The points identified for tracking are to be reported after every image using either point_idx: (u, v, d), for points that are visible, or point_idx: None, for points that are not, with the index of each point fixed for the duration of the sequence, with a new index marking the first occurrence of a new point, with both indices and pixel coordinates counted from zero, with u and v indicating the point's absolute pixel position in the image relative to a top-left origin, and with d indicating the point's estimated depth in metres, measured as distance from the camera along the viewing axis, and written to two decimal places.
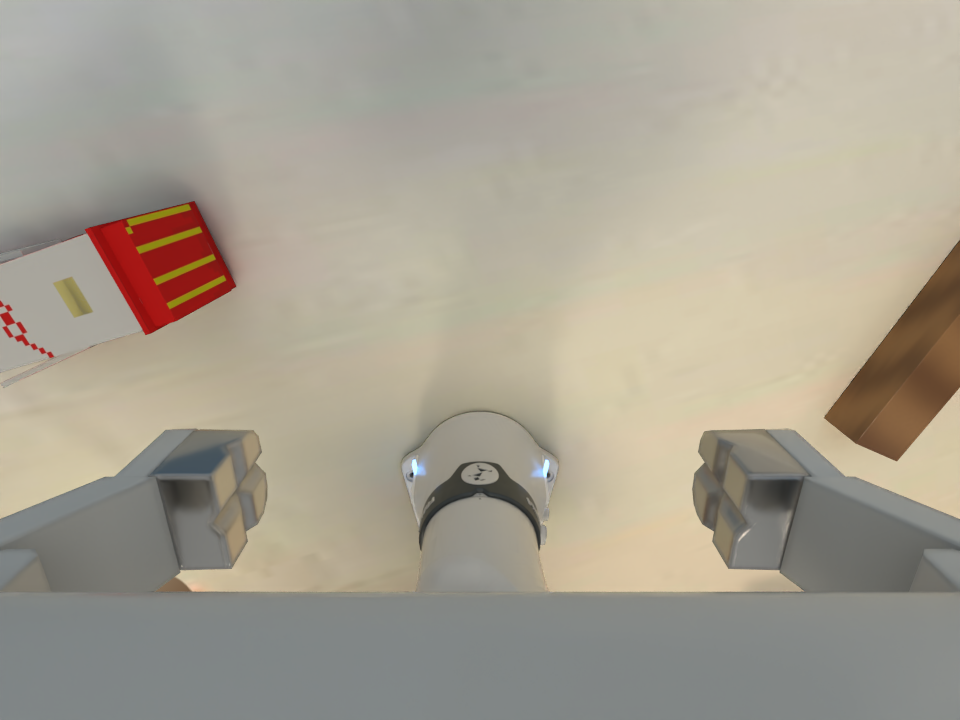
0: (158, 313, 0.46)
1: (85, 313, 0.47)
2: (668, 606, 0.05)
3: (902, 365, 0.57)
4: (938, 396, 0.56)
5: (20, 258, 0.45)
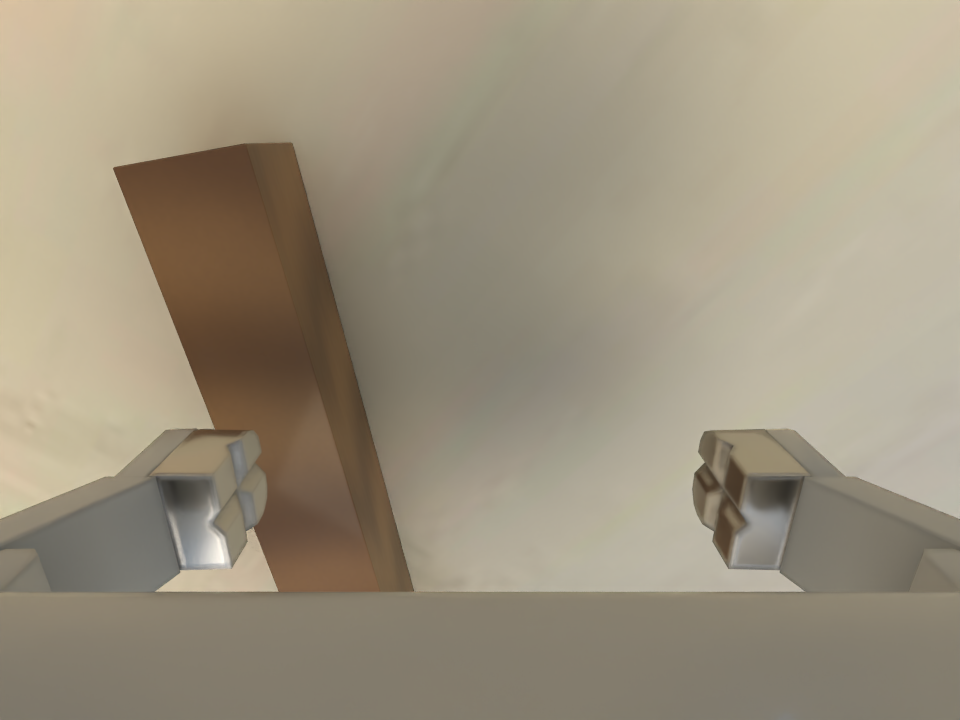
0: None
1: None
2: (668, 606, 0.05)
3: (318, 344, 0.26)
4: (212, 345, 0.25)
5: None
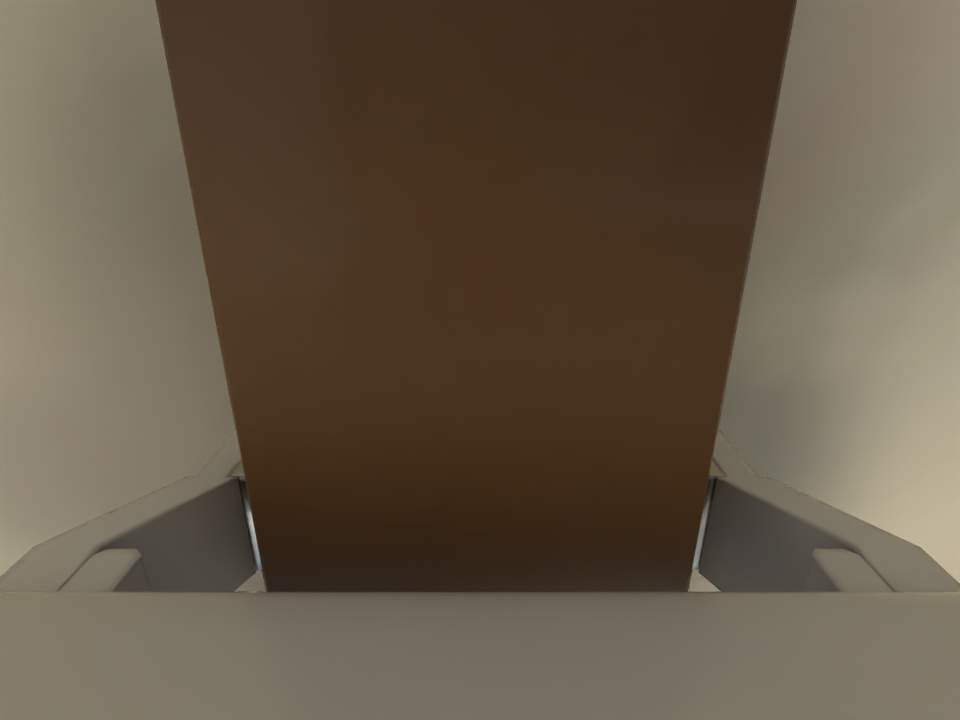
0: None
1: None
2: (668, 606, 0.05)
3: None
4: None
5: None
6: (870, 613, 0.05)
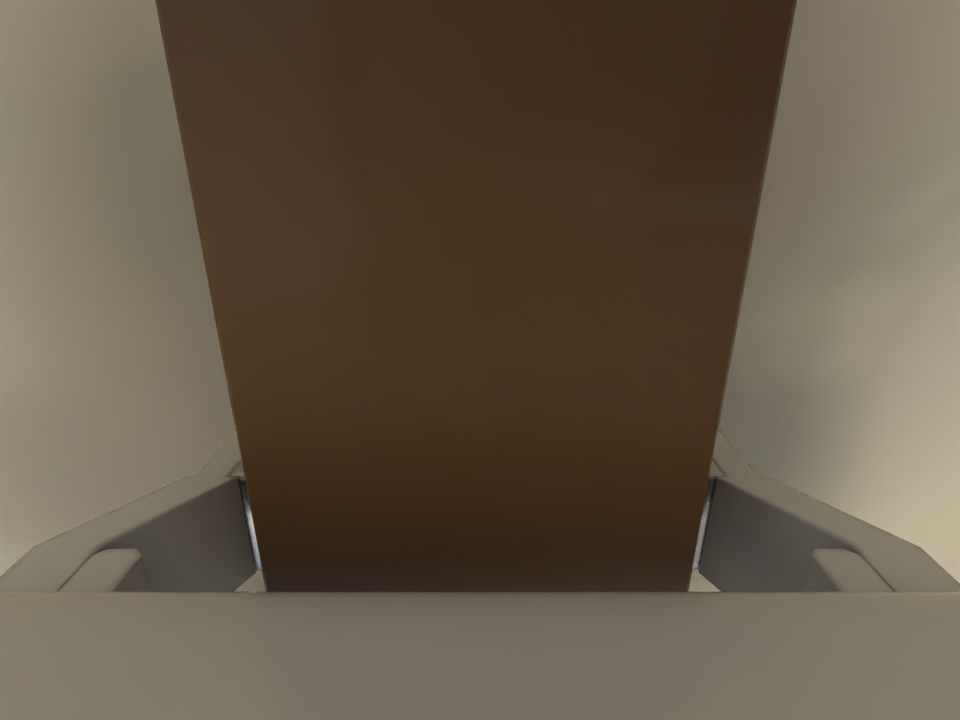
0: None
1: None
2: (668, 606, 0.05)
3: None
4: None
5: None
6: (870, 613, 0.05)
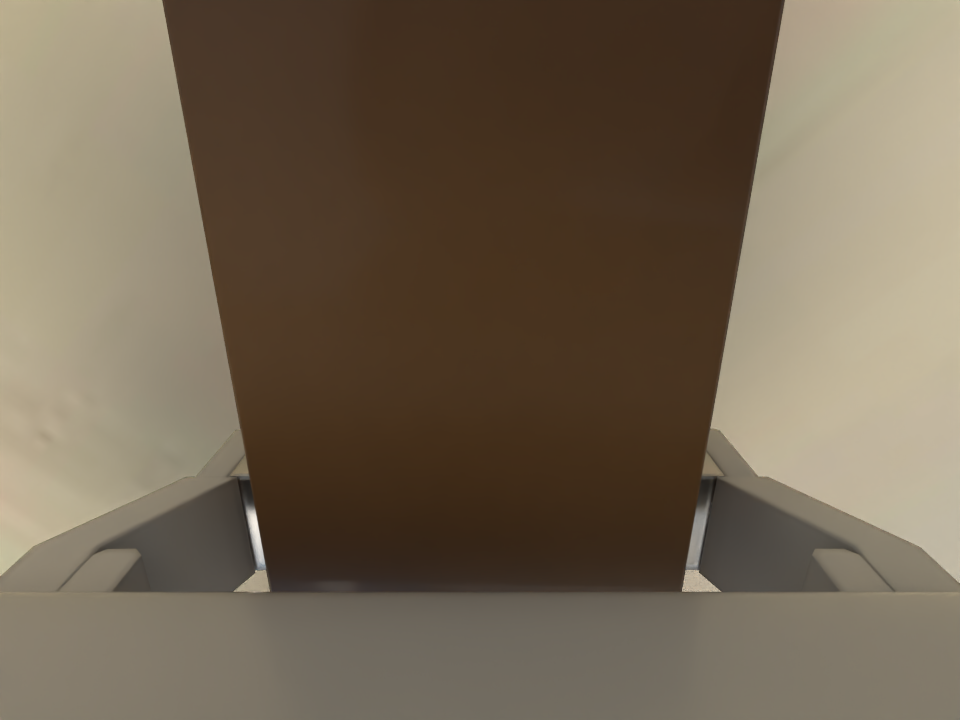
0: None
1: None
2: (668, 606, 0.05)
3: None
4: None
5: None
6: (870, 613, 0.05)
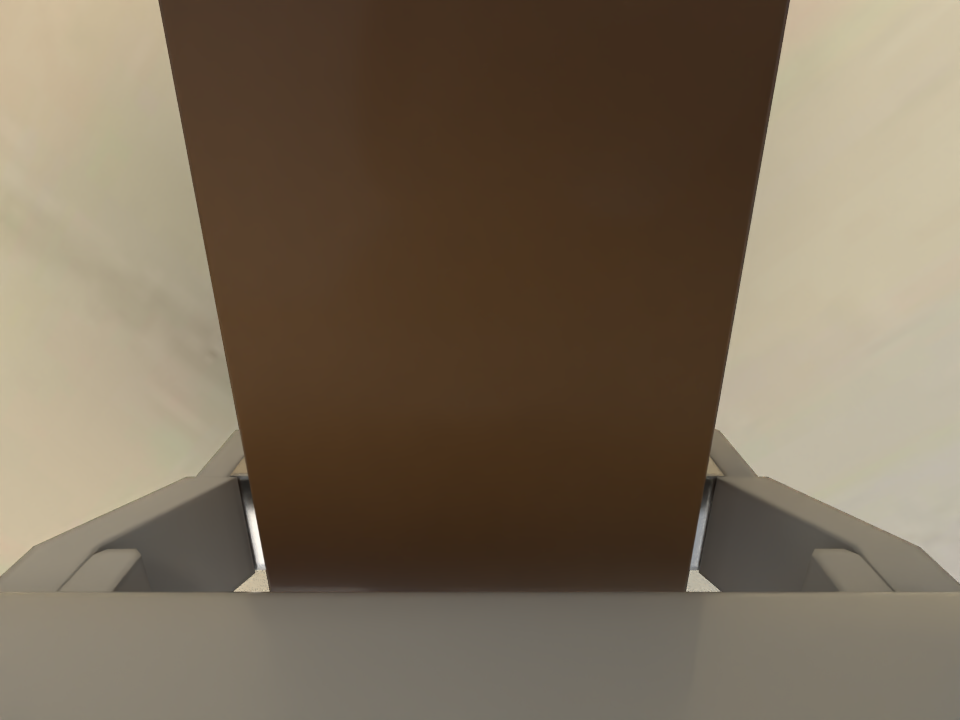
0: None
1: None
2: (668, 606, 0.05)
3: None
4: None
5: None
6: (870, 613, 0.05)
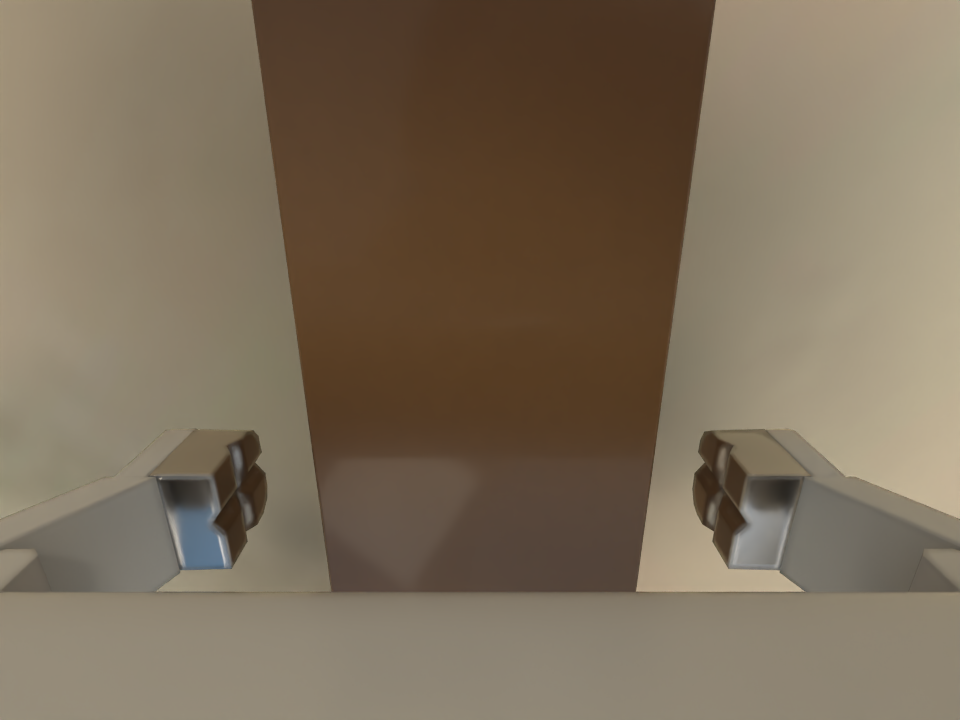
0: None
1: None
2: (668, 606, 0.05)
3: None
4: (401, 529, 0.09)
5: None
6: (870, 613, 0.05)
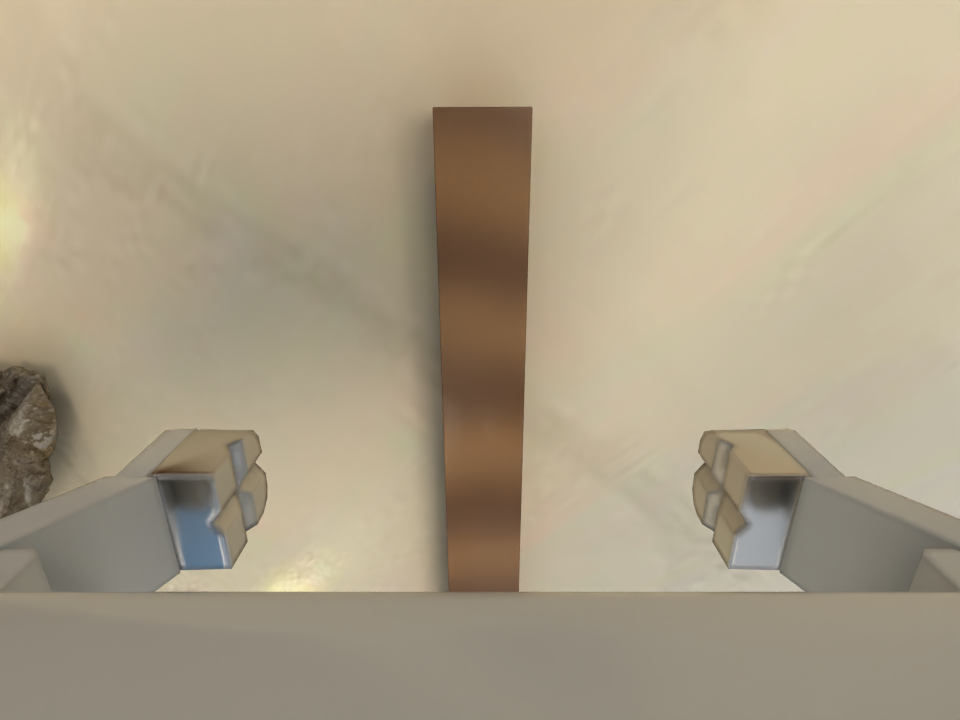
0: None
1: None
2: (668, 606, 0.05)
3: None
4: (459, 250, 0.34)
5: None
6: (870, 613, 0.05)
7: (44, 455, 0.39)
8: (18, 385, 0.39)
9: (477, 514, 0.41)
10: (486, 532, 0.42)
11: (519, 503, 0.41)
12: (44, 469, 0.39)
